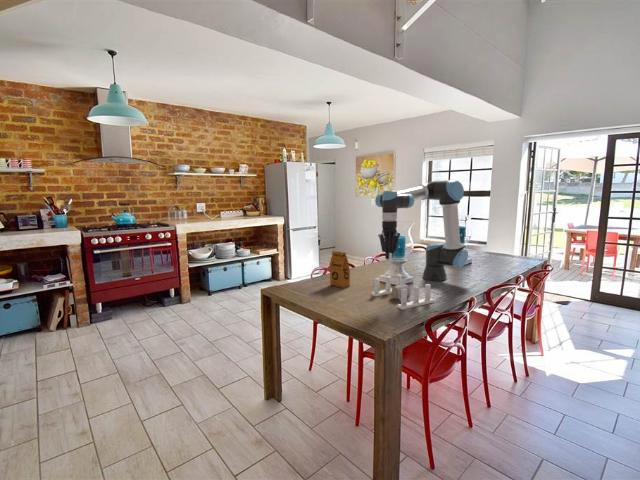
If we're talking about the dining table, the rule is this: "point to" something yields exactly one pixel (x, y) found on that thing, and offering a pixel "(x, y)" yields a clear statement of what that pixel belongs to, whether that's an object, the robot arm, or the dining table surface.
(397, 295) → the ceramic mug
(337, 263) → the coffee package
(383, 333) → the dining table surface
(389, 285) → the rack
